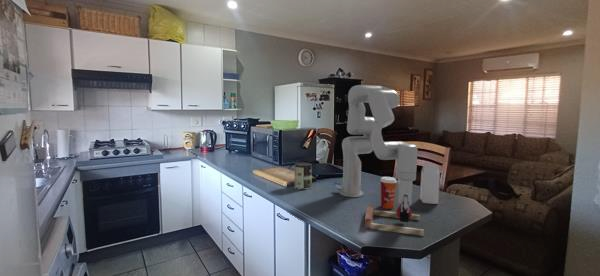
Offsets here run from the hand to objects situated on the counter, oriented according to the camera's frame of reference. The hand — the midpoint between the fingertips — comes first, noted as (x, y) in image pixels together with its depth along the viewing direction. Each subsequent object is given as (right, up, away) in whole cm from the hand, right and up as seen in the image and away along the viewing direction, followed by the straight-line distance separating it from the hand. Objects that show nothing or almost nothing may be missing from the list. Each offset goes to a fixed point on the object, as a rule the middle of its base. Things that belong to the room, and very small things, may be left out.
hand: (403, 218), depth 116 cm
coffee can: (-40, +3, +53) cm, 67 cm away
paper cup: (0, -1, +21) cm, 21 cm away
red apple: (0, -2, 0) cm, 2 cm away
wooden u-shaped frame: (-3, -3, +1) cm, 4 cm away
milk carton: (+23, 0, +29) cm, 38 cm away
